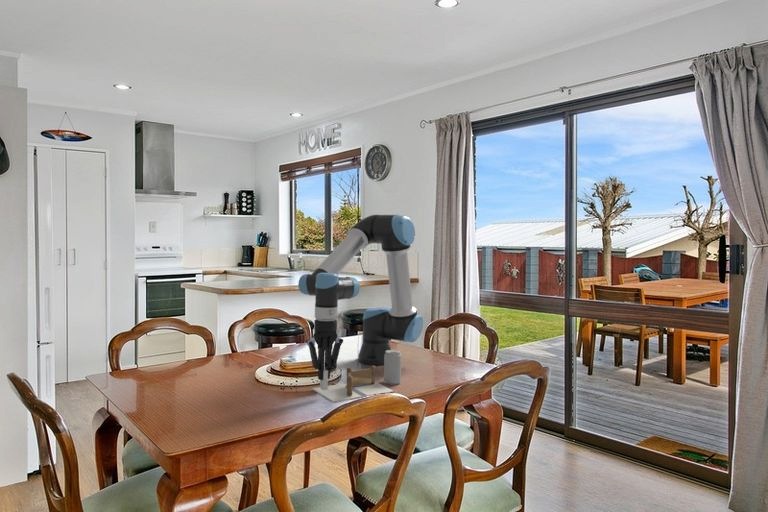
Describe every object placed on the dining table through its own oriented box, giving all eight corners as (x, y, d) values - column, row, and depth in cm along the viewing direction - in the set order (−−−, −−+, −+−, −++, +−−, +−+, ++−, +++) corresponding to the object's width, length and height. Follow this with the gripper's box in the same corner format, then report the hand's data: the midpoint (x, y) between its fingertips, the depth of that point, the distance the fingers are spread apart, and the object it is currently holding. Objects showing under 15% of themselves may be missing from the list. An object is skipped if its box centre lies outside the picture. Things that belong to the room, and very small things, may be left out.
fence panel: (347, 395, 183) (347, 377, 183) (346, 387, 193) (347, 369, 193) (352, 395, 184) (352, 377, 183) (351, 387, 193) (352, 369, 193)
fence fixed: (345, 388, 195) (346, 367, 194) (373, 383, 201) (373, 364, 201) (347, 389, 193) (348, 369, 193) (375, 385, 200) (376, 365, 199)
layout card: (312, 389, 192) (312, 387, 192) (370, 380, 205) (370, 379, 205) (333, 402, 179) (333, 400, 179) (393, 392, 192) (393, 390, 192)
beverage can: (386, 385, 199) (387, 353, 199) (381, 380, 206) (382, 349, 205) (402, 384, 201) (403, 353, 200) (397, 380, 207) (398, 349, 207)
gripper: (313, 322, 174) (310, 394, 175) (348, 319, 181) (346, 389, 182) (303, 318, 180) (301, 388, 181) (337, 316, 188) (335, 383, 189)
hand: (323, 388), depth 182 cm, fingers closed
